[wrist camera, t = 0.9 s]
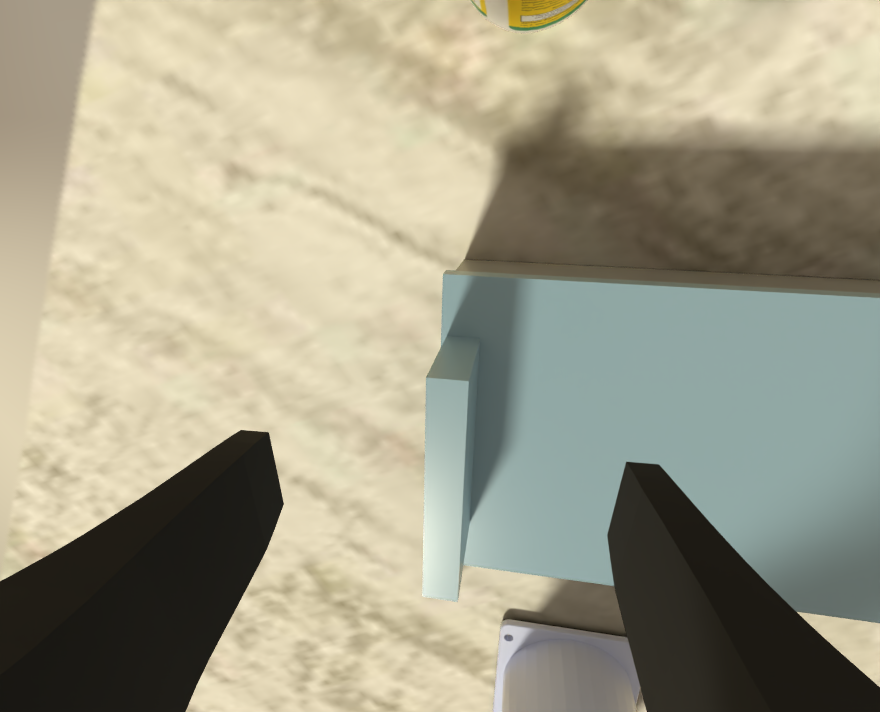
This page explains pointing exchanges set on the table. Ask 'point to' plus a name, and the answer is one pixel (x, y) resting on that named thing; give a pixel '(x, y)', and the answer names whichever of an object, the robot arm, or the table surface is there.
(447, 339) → the lid
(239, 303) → the table surface
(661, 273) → the tub
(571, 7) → the supplement bottle
